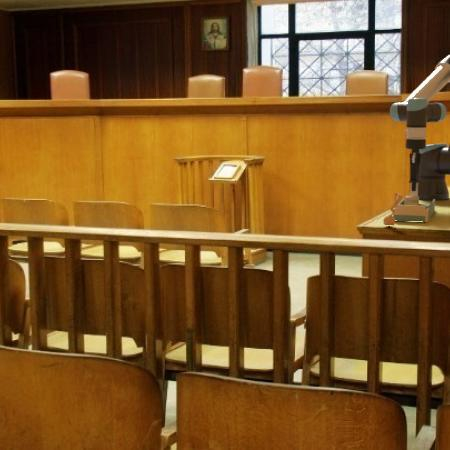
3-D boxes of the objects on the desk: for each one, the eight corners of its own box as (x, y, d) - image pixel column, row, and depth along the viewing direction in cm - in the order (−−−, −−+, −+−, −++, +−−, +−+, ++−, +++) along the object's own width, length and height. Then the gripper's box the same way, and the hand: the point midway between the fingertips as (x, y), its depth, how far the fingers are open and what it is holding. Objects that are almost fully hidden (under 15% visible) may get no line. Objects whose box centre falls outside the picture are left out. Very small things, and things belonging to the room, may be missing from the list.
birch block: (405, 204, 299) (405, 195, 299) (418, 204, 298) (419, 196, 297) (403, 205, 295) (404, 197, 294) (417, 206, 293) (417, 197, 293)
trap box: (404, 209, 302) (404, 194, 301) (434, 210, 298) (435, 195, 297) (393, 221, 275) (393, 204, 274) (426, 223, 271) (427, 206, 270)
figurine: (385, 224, 268) (386, 190, 266) (402, 225, 266) (404, 190, 264) (381, 228, 261) (382, 193, 259) (399, 229, 259) (400, 193, 256)
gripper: (408, 137, 307) (406, 196, 311) (403, 139, 295) (401, 200, 299) (427, 137, 304) (425, 197, 308) (424, 139, 292) (421, 201, 296)
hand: (413, 199), depth 304 cm, fingers closed
